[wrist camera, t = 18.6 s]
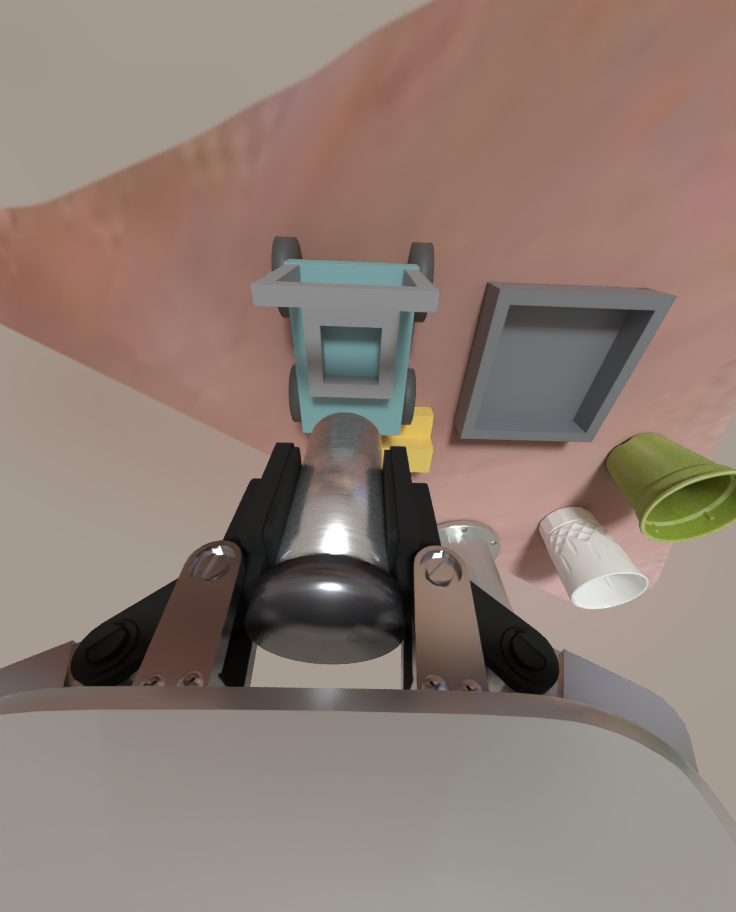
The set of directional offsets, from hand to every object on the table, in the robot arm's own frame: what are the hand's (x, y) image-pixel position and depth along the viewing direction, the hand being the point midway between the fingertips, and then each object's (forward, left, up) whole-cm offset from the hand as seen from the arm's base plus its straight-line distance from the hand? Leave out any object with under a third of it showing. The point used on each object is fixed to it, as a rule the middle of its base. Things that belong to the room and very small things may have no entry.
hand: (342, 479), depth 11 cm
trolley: (-1, 0, -19) cm, 19 cm away
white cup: (-25, -29, -20) cm, 43 cm away
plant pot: (-13, -32, -20) cm, 39 cm away
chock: (-10, -4, -20) cm, 23 cm away
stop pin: (0, 0, -2) cm, 2 cm away
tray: (-3, -17, -19) cm, 26 cm away
